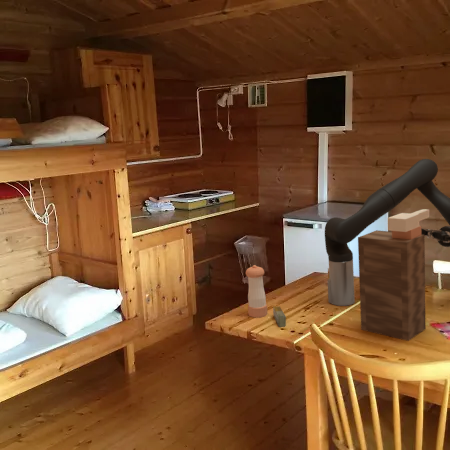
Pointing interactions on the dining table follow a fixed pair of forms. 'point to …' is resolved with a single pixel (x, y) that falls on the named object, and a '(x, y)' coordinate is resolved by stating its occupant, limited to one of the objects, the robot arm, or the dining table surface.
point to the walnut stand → (392, 284)
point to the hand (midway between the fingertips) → (430, 235)
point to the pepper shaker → (256, 292)
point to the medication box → (279, 316)
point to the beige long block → (407, 220)
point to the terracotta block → (407, 234)
